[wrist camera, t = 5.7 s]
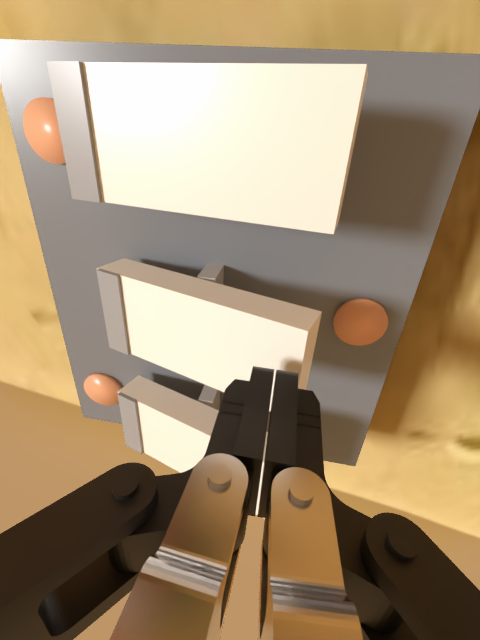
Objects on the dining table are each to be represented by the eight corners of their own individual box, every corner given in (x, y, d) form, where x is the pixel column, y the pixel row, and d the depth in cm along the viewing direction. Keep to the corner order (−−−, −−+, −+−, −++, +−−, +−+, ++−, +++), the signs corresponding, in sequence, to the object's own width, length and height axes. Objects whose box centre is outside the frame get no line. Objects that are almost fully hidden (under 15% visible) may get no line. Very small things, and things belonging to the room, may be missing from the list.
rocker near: (368, 74, 9) (366, 62, 8) (338, 222, 11) (333, 235, 10) (84, 70, 12) (42, 61, 10) (101, 192, 14) (69, 198, 12)
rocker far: (295, 444, 15) (281, 473, 14) (284, 496, 17) (271, 526, 16) (138, 375, 19) (115, 393, 18) (144, 424, 21) (124, 444, 20)
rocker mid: (321, 311, 12) (306, 333, 11) (305, 395, 14) (290, 423, 13) (124, 258, 16) (93, 269, 14) (132, 330, 18) (107, 346, 16)
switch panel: (450, 74, 14) (529, 42, 9) (348, 418, 24) (358, 491, 19) (57, 58, 16) (-52, 26, 11) (112, 379, 26) (68, 436, 21)
